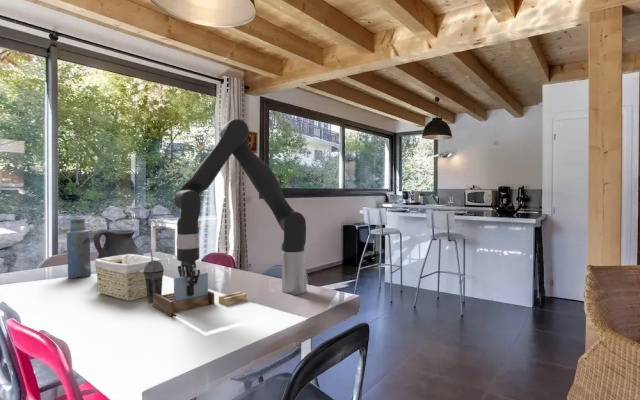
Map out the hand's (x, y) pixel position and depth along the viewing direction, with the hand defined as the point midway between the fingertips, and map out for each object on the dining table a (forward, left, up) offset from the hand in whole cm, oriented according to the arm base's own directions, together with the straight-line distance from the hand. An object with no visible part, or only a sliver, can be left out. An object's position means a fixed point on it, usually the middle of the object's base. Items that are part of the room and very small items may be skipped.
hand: (189, 294), depth 133 cm
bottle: (+16, -90, -5) cm, 92 cm away
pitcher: (+4, -67, -5) cm, 68 cm away
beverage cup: (+5, -19, -5) cm, 21 cm away
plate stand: (-14, +6, -5) cm, 16 cm away
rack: (0, -4, -5) cm, 7 cm away
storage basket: (+9, -38, -6) cm, 39 cm away
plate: (-1, 0, -4) cm, 4 cm away
